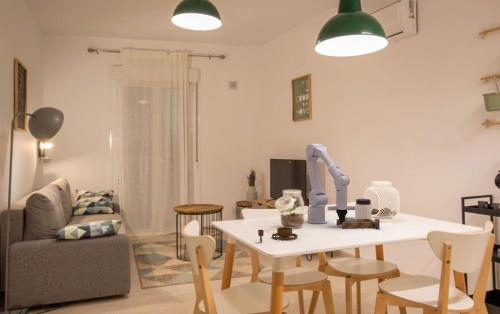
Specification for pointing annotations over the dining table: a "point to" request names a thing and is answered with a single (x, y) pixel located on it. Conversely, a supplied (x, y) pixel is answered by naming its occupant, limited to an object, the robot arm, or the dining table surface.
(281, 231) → the place setting
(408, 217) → the dining table surface
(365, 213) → the jar
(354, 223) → the wooden tray
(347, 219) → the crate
